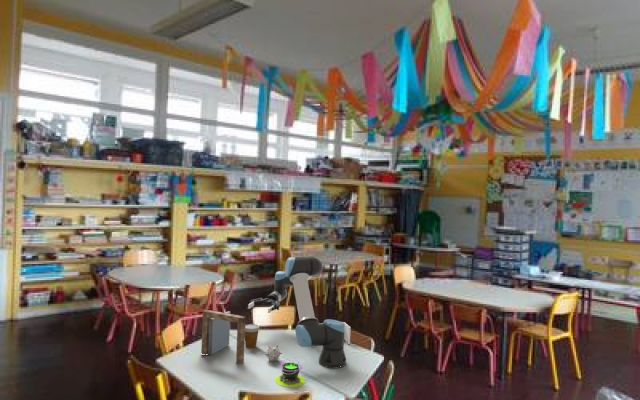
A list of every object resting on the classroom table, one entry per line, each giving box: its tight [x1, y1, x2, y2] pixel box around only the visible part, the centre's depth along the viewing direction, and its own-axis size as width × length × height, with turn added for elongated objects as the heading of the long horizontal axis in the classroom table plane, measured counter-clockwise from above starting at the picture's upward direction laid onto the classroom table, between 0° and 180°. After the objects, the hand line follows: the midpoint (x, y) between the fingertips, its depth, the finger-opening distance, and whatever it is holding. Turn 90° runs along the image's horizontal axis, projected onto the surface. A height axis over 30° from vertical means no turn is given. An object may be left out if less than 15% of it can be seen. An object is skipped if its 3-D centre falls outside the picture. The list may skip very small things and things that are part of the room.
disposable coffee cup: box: [244, 323, 260, 349], centre depth 274 cm, size 10×10×12 cm
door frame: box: [200, 309, 246, 365], centre depth 253 cm, size 26×3×25 cm, turn 67°
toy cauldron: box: [274, 358, 306, 388], centre depth 229 cm, size 15×15×11 cm
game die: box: [265, 345, 283, 363], centre depth 253 cm, size 9×8×10 cm
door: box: [207, 311, 231, 356], centre depth 265 cm, size 19×4×20 cm, turn 157°
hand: (258, 308), depth 279 cm, fingers open, 13 cm apart
